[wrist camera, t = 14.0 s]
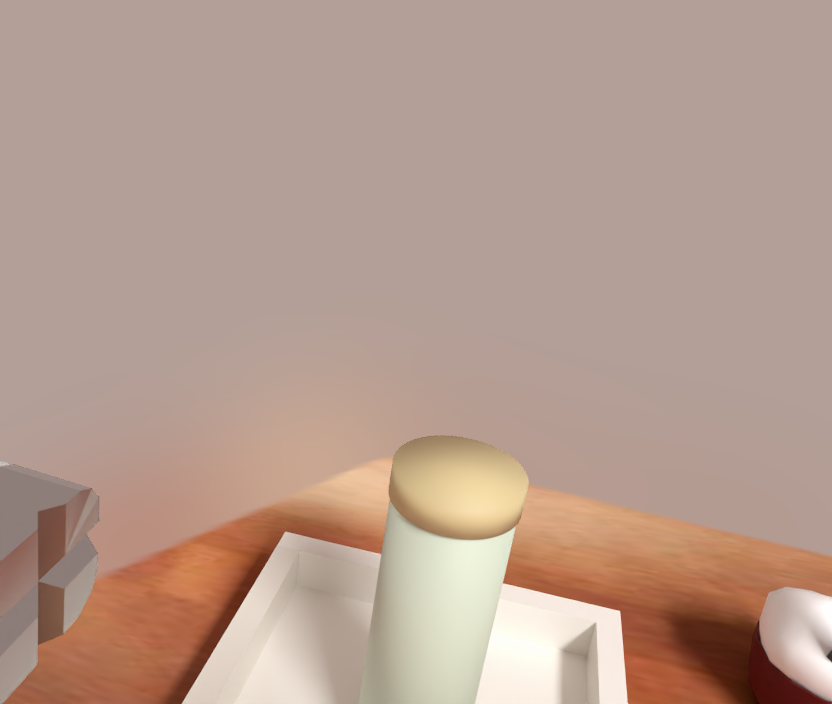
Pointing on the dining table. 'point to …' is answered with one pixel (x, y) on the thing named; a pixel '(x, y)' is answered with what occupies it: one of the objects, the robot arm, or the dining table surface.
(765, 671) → the cocoa
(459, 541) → the tea tin
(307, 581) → the dish
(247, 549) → the dining table surface
